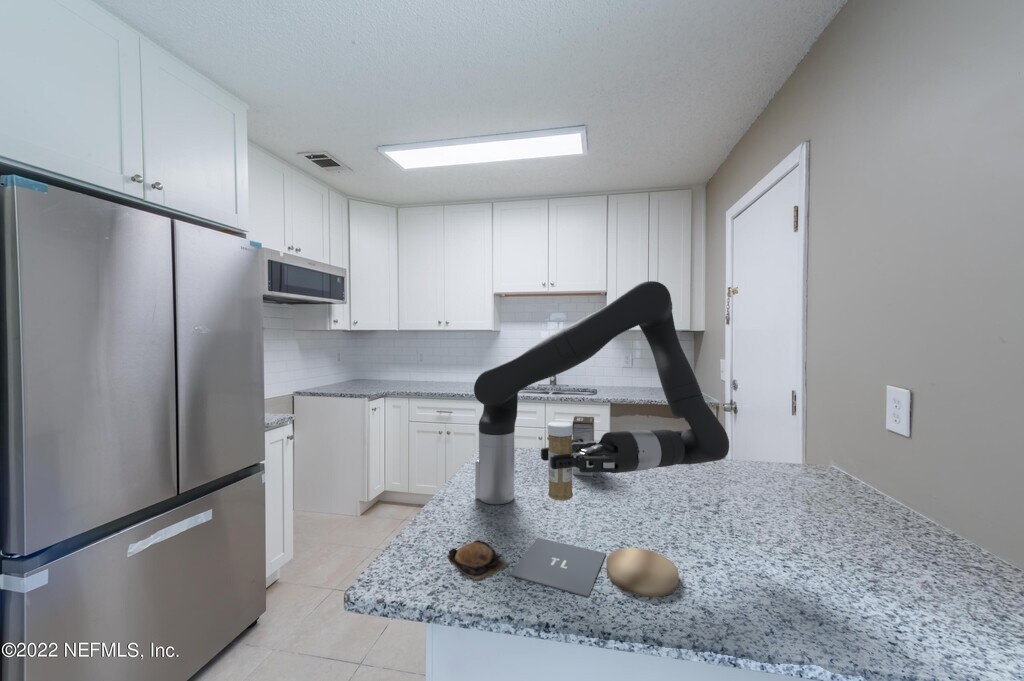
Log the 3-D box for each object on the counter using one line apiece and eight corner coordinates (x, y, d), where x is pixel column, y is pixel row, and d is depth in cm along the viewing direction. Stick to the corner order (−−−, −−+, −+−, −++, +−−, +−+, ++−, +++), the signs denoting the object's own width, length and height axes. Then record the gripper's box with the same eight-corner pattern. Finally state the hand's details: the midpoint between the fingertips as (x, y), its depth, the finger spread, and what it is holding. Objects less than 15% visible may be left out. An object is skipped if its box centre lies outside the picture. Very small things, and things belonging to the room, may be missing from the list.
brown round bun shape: (511, 569, 73) (512, 548, 73) (473, 586, 68) (473, 565, 68) (478, 544, 82) (479, 526, 82) (441, 558, 76) (442, 539, 76)
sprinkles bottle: (575, 501, 72) (575, 426, 71) (549, 502, 71) (550, 426, 71) (569, 491, 76) (569, 420, 76) (545, 492, 76) (545, 420, 76)
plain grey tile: (508, 575, 70) (508, 573, 70) (537, 538, 83) (537, 537, 83) (588, 597, 64) (588, 595, 64) (605, 554, 77) (605, 552, 77)
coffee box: (573, 465, 130) (573, 415, 130) (593, 466, 129) (594, 416, 128) (572, 474, 121) (572, 421, 121) (593, 476, 120) (594, 422, 119)
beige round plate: (599, 584, 68) (599, 575, 68) (613, 550, 79) (613, 542, 79) (677, 605, 63) (677, 595, 63) (679, 565, 74) (679, 556, 74)
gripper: (611, 423, 84) (533, 428, 80) (652, 440, 70) (561, 448, 66) (611, 459, 84) (533, 466, 80) (652, 483, 70) (561, 494, 66)
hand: (546, 458), depth 73 cm, fingers closed on sprinkles bottle, 4 cm apart
